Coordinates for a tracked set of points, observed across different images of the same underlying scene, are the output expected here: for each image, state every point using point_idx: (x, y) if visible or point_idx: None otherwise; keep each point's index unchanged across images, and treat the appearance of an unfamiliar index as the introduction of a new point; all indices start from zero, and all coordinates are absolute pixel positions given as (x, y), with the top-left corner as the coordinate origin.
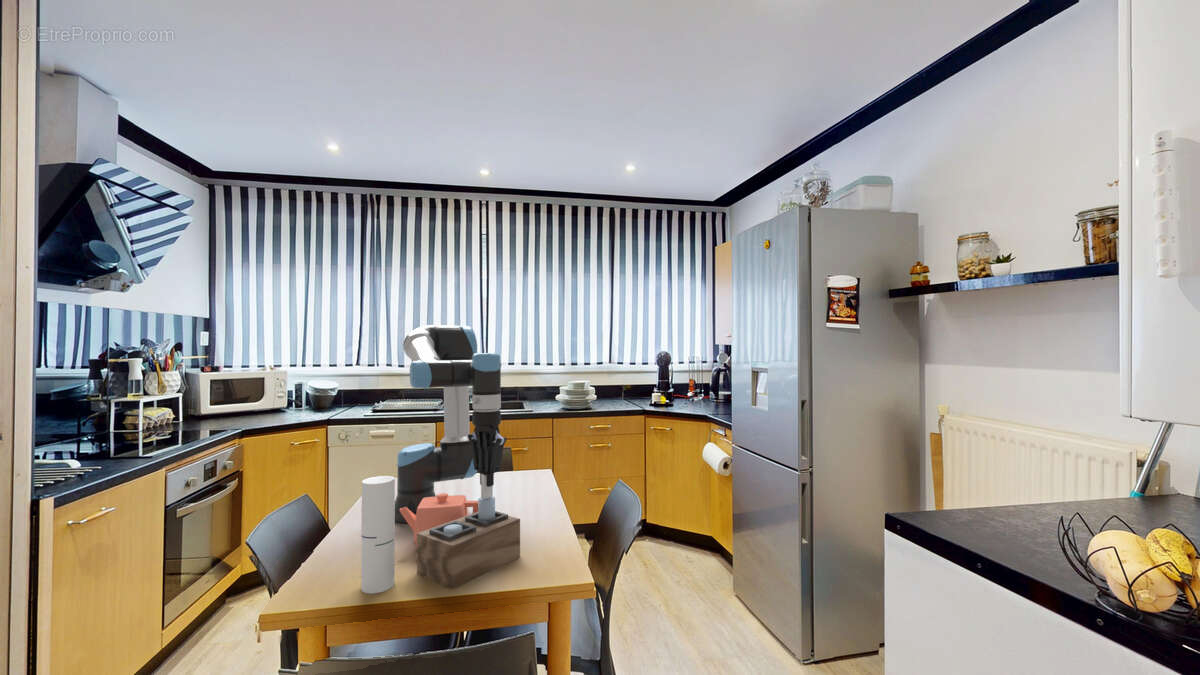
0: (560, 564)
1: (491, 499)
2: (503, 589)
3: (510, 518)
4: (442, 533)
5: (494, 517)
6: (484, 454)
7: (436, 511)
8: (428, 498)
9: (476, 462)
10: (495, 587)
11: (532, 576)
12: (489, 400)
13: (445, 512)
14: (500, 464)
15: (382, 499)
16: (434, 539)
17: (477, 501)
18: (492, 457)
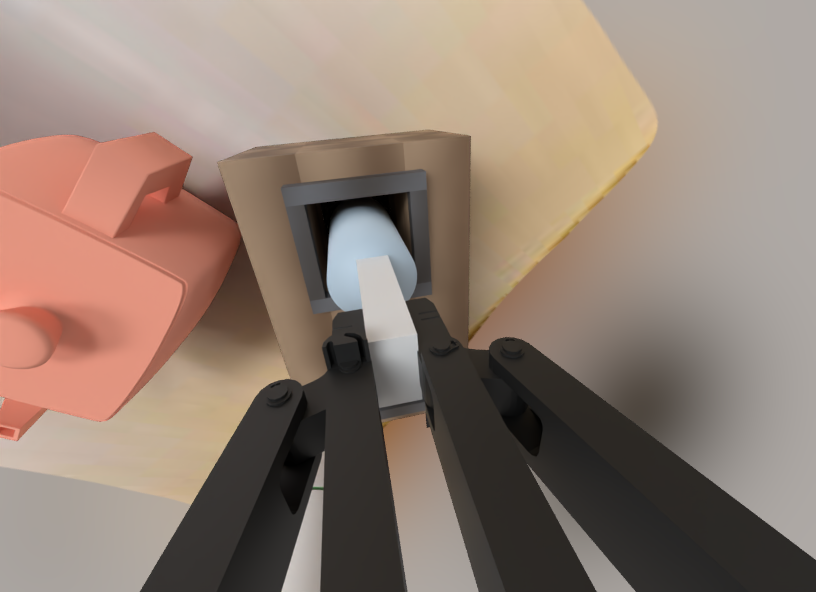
0: (564, 83)
1: (406, 272)
2: (520, 274)
3: (431, 162)
4: (399, 412)
5: (395, 227)
6: (403, 574)
7: (156, 362)
8: None
9: (305, 506)
10: (500, 280)
11: (538, 193)
12: None
13: (175, 332)
14: (575, 379)
15: None
16: (391, 419)
17: (108, 157)
18: (601, 537)
